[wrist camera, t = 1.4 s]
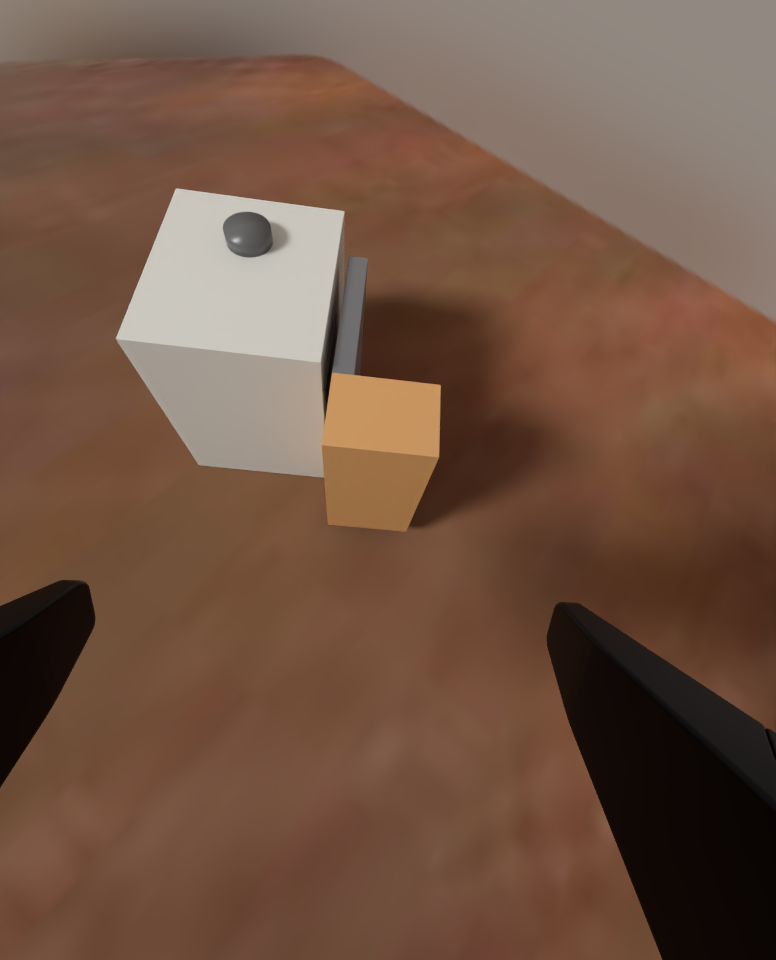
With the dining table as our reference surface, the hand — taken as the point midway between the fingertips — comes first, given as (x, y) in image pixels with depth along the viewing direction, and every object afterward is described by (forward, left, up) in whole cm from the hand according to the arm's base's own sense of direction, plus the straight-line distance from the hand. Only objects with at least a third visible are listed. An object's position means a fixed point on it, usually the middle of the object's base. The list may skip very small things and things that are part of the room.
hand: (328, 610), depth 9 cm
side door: (+7, -8, -13) cm, 17 cm away
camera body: (+13, -5, -14) cm, 20 cm away
